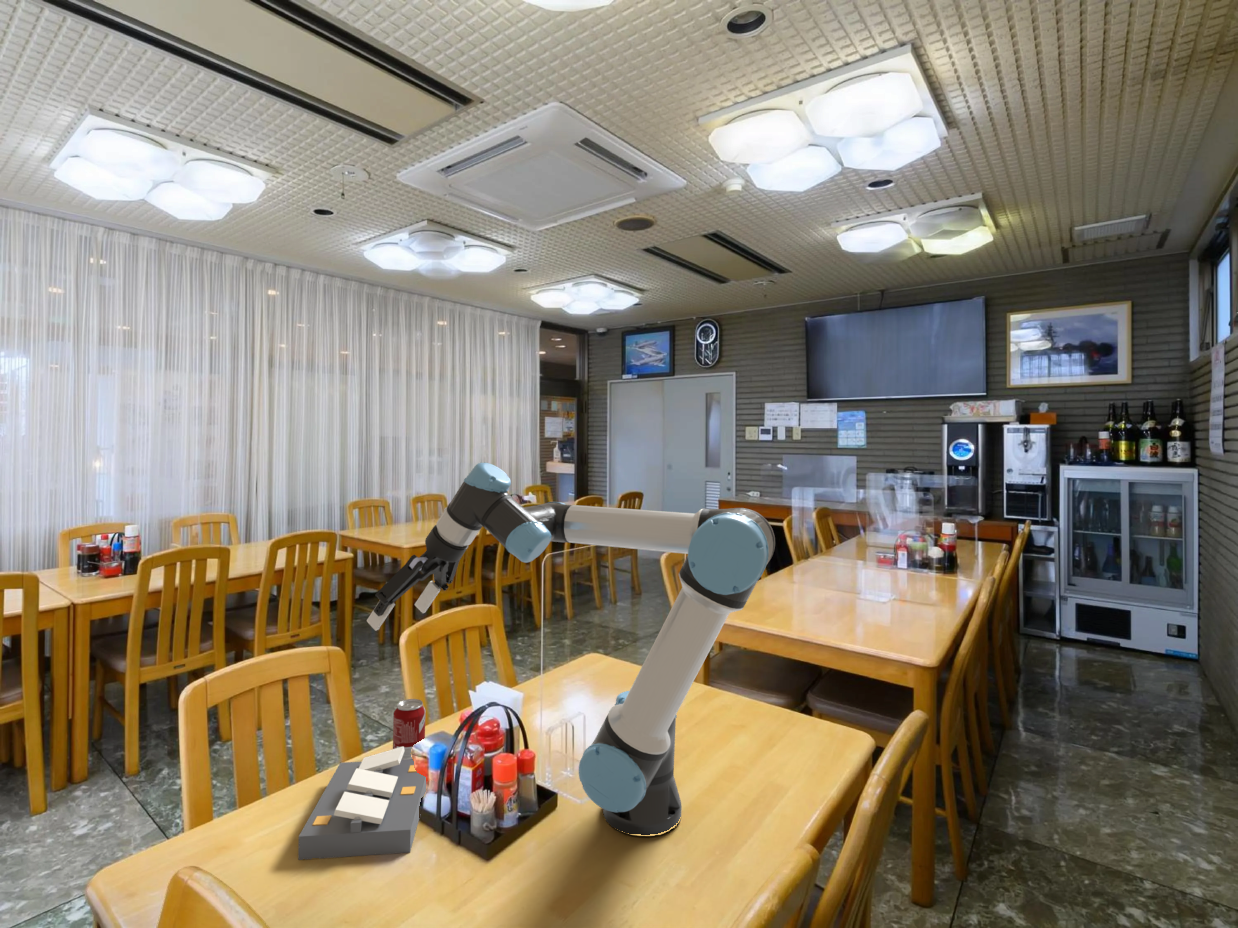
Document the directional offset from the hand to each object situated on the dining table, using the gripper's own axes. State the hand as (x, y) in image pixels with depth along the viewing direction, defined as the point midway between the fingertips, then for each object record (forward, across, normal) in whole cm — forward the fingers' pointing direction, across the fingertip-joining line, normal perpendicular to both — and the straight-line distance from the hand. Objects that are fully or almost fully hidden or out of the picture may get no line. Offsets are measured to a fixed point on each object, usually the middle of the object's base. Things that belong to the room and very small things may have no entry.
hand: (397, 616), depth 122 cm
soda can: (+33, -13, +15) cm, 39 cm away
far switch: (+26, -1, +15) cm, 30 cm away
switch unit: (+29, +6, +22) cm, 36 cm away
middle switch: (+24, +6, +18) cm, 31 cm away
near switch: (+22, +13, +22) cm, 34 cm away
